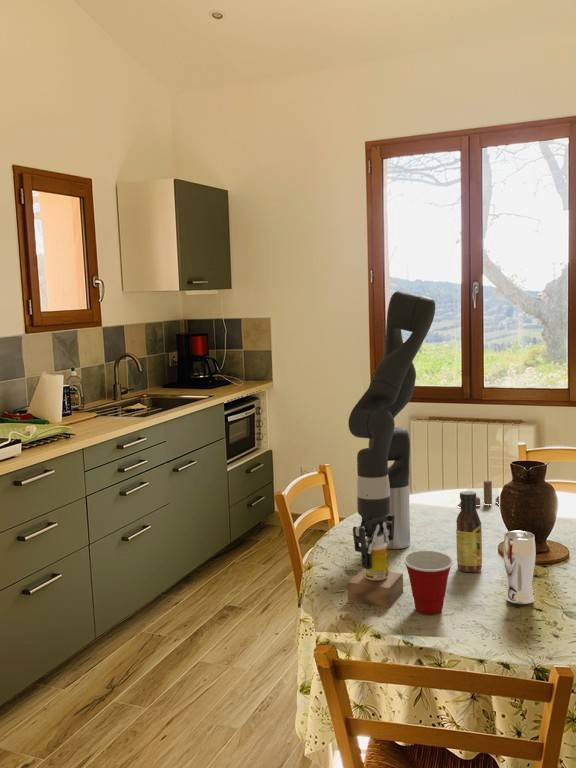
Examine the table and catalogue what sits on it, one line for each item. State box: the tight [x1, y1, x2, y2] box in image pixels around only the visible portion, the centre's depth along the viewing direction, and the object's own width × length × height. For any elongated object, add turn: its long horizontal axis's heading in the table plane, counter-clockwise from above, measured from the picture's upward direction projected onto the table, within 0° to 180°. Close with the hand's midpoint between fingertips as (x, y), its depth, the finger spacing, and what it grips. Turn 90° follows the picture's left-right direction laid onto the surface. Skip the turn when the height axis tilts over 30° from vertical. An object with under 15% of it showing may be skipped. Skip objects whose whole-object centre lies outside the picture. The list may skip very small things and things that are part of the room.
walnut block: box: [347, 567, 404, 609], centre depth 175 cm, size 10×10×5 cm
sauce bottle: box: [455, 490, 483, 574], centre depth 191 cm, size 6×6×20 cm
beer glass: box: [503, 530, 537, 605], centre depth 170 cm, size 7×7×15 cm
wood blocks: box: [457, 480, 499, 507], centre depth 242 cm, size 25×3×10 cm, turn 96°
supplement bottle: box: [364, 534, 389, 581], centre depth 175 cm, size 6×6×10 cm
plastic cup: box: [403, 549, 454, 616], centre depth 166 cm, size 11×11×12 cm
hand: (375, 563), depth 175 cm, fingers open, 6 cm apart
